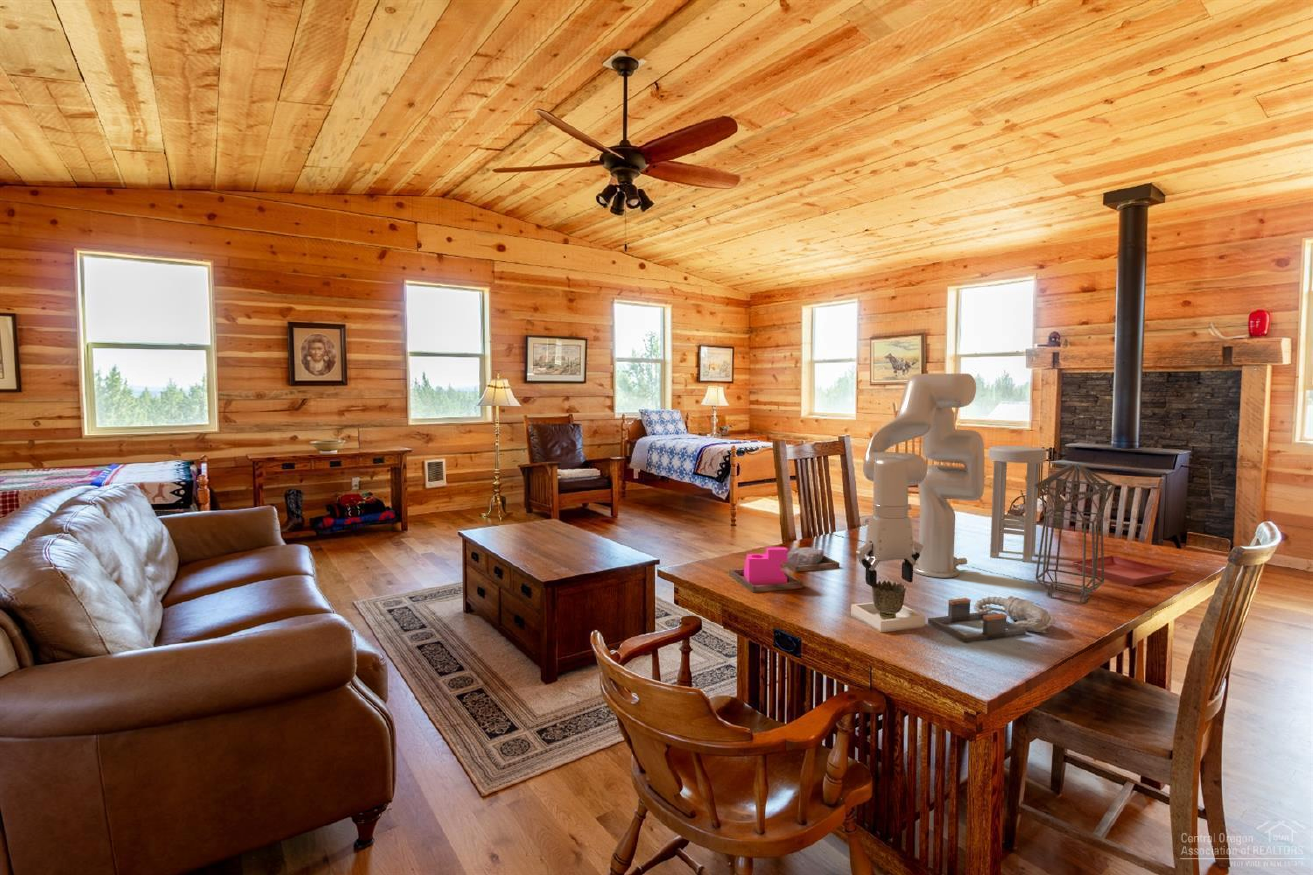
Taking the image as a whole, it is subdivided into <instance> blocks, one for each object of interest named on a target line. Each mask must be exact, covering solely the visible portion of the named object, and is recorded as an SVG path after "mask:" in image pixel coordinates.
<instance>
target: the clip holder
mask: <svg viewBox="0 0 1313 875" xmlns="http://www.w3.org/2000/svg"><path fill="white" fill-rule="evenodd" d="M947 603H948V606H947V608H948V609H947V616H946V615H945V616H937V617H928V618H927V624H928V625H930V626H932V627H934V628H936V629H938V630H940V631H942V632H944V633H945V634H948V635H950V636H951V637H953V638H955V639H957V640H959V641H961V642H963V643H965V644H968V643H977V642H984V641H992V640H997V639H1006V638H1013V637H1020V636H1022V637H1023V636H1026V635H1027V631H1026V629H1024V628H1021V627H1019V626H1017V625H1015V624H1012V623H1011V622H1010V621H1008V620H1007V618H1008V615H1007V614H1006V613H1002V612H1000V613H989V612H988V613H987V612H971V599H969V598H967V597H963V598H953V599H948V600H947ZM978 620H979V621H980V620H982V632H978V633H970V634H964V633H962V632H960V631H958V630H957V629H955V628H953V627H951V626H949V625H947V624H952V623H961V622H969V621H978Z"/></svg>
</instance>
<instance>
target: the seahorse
mask: <svg viewBox="0 0 1313 875" xmlns="http://www.w3.org/2000/svg"><path fill="white" fill-rule="evenodd" d="M991 605H994V606H999V607H1003V609H1004V611H1005V615H1007V617H1009V618H1010V620H1012V621H1015V622H1010V623H1012V624H1015V625H1017V626H1019V627H1021V628H1024V629H1026V632H1035V633H1041V634H1048V632H1047V631H1046V629H1047V628H1049V627H1051V626H1052V625H1053V623H1054V622H1055V617H1054V616H1053V615H1052V614H1051V613H1050V612H1048V611H1047V610H1046V609H1045V608H1043V607H1040V606H1038V605H1035V604H1034V602H1033V601H1032V600H1030V599H1026V598H1019V597H1014V596H1012V595H1010V596H1008V597H1007V598H1003V597H1001V596H999V597H997V596H991V597H990V596H988V597H986V598H985V597H984V598H981V599H980V600H977V602H976V603H975V604H974V606H973V610H974V611H976V613H978V612H987V613H989V612H991V611H992V610H993V608H992V606H991ZM981 608H983V609H981Z"/></svg>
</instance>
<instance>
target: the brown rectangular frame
mask: <svg viewBox="0 0 1313 875" xmlns="http://www.w3.org/2000/svg"><path fill="white" fill-rule="evenodd" d="M790 551H791V550H790ZM790 551H789V550H788V553H789V552H790ZM821 562H824V563H818V564H813V565H801V566H796V565H794V564H792V563H791V562H789V561H787V562H781V565H783V566H784V567H787V568H788V569H790V570H792V571H794V572H808V571H821V570H830V569H840V562H839V561H836V560H834V559H832V558H830V557H828V556H826V555H824V556H823V560H822V561H821Z"/></svg>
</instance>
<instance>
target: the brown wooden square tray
mask: <svg viewBox="0 0 1313 875" xmlns="http://www.w3.org/2000/svg"><path fill="white" fill-rule="evenodd" d="M783 572H784V574H785V575H786V577H787V583H779V584H768V585H758V586H754V585H753V584H751V583H750V582H749V581H747V580H746V578H745V577H743V576H744V568H735V569H729V570H728V575H729V577H731V578H733V579H734V580H735V581H736V582H738V583H740V584H741V585H742V586H744V587H745V588H746V589H748V590H749V591H751V592H752V593H763V592H771V591H782V590H792V589H803V587H804V586H803V585H804V583H803V581H801V580H800V579H798V578H796V577H794V576H793V575H791V574H790V573H789V572H786V571H784V570H783ZM742 575H743V576H742Z"/></svg>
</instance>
